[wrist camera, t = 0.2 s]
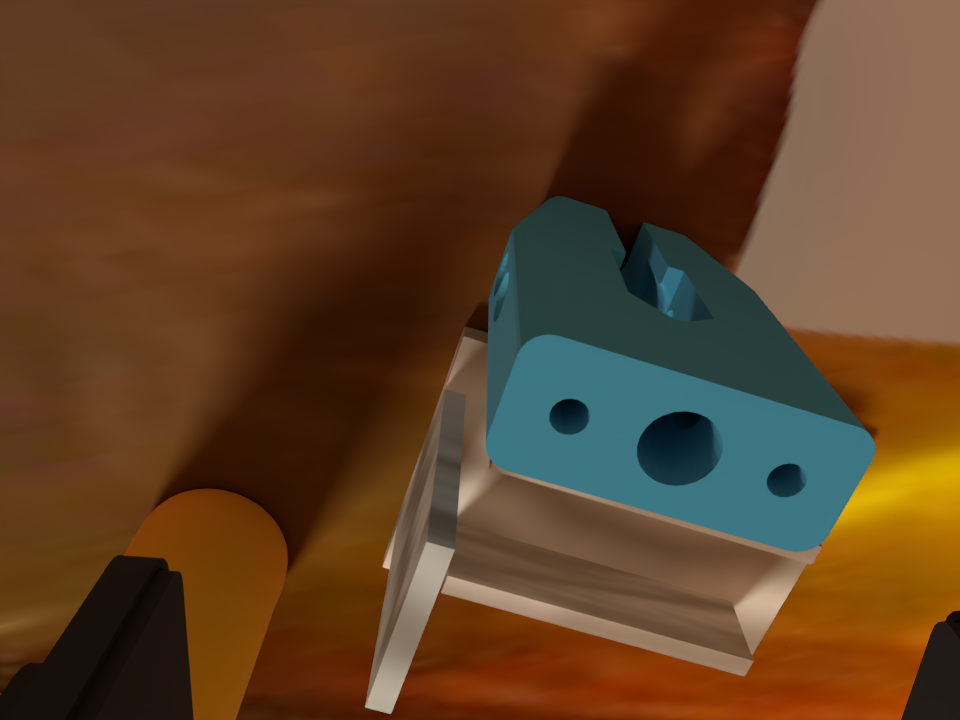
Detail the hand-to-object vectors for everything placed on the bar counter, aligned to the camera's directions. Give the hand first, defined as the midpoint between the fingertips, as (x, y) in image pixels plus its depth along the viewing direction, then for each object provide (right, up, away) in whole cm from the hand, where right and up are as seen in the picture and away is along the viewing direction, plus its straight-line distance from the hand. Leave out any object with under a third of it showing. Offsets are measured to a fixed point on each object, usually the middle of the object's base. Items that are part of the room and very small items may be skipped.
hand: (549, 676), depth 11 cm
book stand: (+7, -5, +41) cm, 42 cm away
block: (+6, +9, +35) cm, 37 cm away
